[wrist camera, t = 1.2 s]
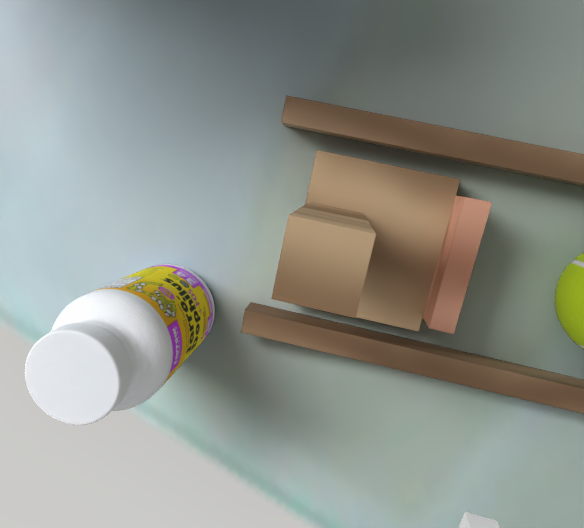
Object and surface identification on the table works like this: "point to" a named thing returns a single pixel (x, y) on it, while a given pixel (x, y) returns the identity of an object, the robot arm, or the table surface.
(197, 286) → the supplement bottle
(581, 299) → the tennis ball
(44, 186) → the table surface
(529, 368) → the track rails
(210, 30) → the table surface
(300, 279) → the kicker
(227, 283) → the table surface
